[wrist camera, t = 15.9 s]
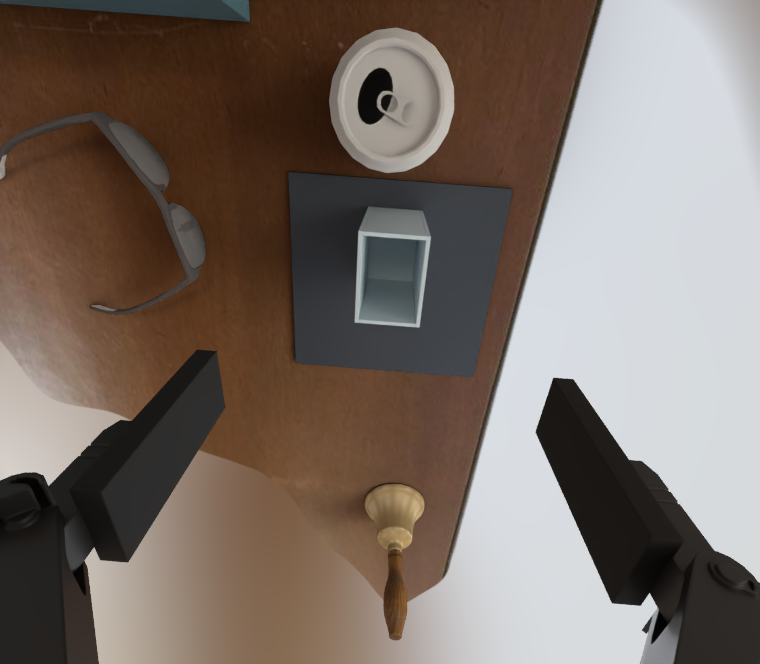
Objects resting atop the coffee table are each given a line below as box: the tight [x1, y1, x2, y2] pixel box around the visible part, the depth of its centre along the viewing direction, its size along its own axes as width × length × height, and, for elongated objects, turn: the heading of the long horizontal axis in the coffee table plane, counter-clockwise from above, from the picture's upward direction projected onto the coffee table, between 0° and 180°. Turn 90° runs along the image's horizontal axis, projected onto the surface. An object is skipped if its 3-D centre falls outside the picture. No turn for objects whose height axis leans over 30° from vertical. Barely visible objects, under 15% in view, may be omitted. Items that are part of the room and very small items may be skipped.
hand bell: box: [365, 484, 424, 640], centre depth 47 cm, size 8×8×16 cm
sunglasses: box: [0, 112, 206, 315], centre depth 36 cm, size 16×17×5 cm
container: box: [355, 207, 431, 328], centre depth 33 cm, size 5×7×10 cm
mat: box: [288, 172, 513, 377], centre depth 39 cm, size 20×20×1 cm
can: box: [329, 28, 454, 173], centre depth 27 cm, size 8×8×12 cm
